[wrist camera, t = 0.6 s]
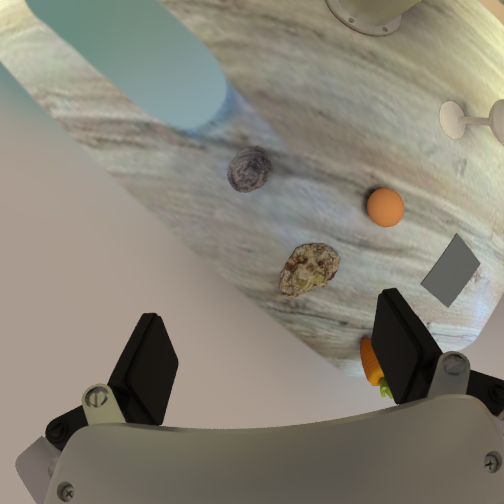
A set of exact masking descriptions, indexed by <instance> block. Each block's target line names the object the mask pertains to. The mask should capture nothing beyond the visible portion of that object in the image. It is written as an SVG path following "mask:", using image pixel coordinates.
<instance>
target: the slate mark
mask: <svg viewBox="0 0 504 504" xmlns="http://www.w3.org/2000/svg"><path fill="white" fill-rule="evenodd" d="M479 265H480V262H479V261H478V259H477V258H476V257H475V255H474V254H473V253H472V252H471V250H470V249H469V248H468V246H467V245H466V244H465V243H464V241H463V240H462V239H461V238H460V236H459V235H458V234H457V233H456V235H455V236H454V238H453V240H452V241H451V243H450V244H449V246H448V247H447V248H446V250H445V251H444V253H443V254H442V256H441V257H440V259H439V260H438V261H437V263H436V264H435V265H434V267H433V268H432V270H431V271H430V272H429V274H428V275H427V276H426V278H425V279H424V280H423V281H422V283H421V285H422V286H423V287H424V288H426V289H427V290H428V291H429V292H430V293H432V294H433V295H434V296H435V297H436V298H437V299H439V300H440V301H441V302H442V303H443V304H444V305H446V306H447V307H449V306H450V305H451V304H452V302H453V301H454V300H455V299H456V297H457V296H458V295H459V293H460V292H461V291H462V289H463V288H464V287H465V285H466V284H467V283H468V281H469V280H470V278H471V277H472V275H473V274H474V273H475V271H476V270H477V268H478V267H479Z"/></svg>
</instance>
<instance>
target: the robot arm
mask: <svg viewBox="0 0 504 504" xmlns="http://www.w3.org/2000/svg"><path fill="white" fill-rule="evenodd" d="M420 1H422V0H326V2H327V4H328V6H329V8H330V9H331V11H332V12H333V13H334V14H335V16H336V17H337V18H338V19H340V20H341V21H342V22H343V23H345V24H346V25H347V26H349V27H351V28H352V29H354V30H356V31H359V32H361V33H364V34H368V35H373V36H384V35H388V34H390V33H392V32H394V31H395V30H396V29H398V27H399V26H400V24H401V21H402V13H404V12H405V11H407V10H408V9H410V8H411V7H413V6H414V5H416V4H417V3H419V2H420ZM499 2H500V3H501V4H502V5H503V6H504V0H499ZM349 21H350V22H349ZM371 346H372V349H373V351H374V353H375V356H376V358H377V360H378V362H379V365H380V367H381V369H382V372H383V374H384V377H385V379H386V381H387V384H388V386H389V389H390V391H391V394H392V396H393V399H394V401H395V403H396V404H397V405H398V404H399V405H398V406H394V407H390V408H386V409H382V410H378V411H373V412H369V413H365V414H360V415H355V416H350V417H346V418H341V419H334V420H329V421H322V422H315V423H308V424H300V425H291V426H281V427H268V428H249V429H198V428H179V427H166V426H159V425H162V423H163V420H164V416H165V412H166V408H167V405H168V400H169V397H170V394H171V390H172V386H173V383H174V379H175V376H176V372H177V369H178V358H177V356H176V353H175V351H174V349H173V346H172V344H171V341H170V338H169V336H168V333H167V331H166V328H165V326H164V323H163V320H162V318H161V316H158V315H157V314H156V313H144V314H143V315H142V316H141V318H140V320H139V322H138V323H137V326H136V327H135V329H134V331H133V333H132V335H131V337H130V339H129V341H128V342H127V344H126V346H125V349H124V350H123V352H122V354H121V356H120V358H119V360H118V362H117V364H116V367H115V369H114V370H113V372H112V374H111V376H110V379H109V382H108V384H107V385H106V384H96V385H92V386H91V387H89V388H88V389H87V390H86V391H85V392H84V394H83V396H82V405H81V406H79V407H77V408H75V409H73V410H71V411H69V412H67V413H65V414H63V415H61V416H59V417H57V418H55V419H54V420H52V421H51V422H50V423H49V424H48V426H47V428H46V432H45V434H46V436H45V437H43V436H41V437H40V438H38V439H37V440H36V441H35V442H34V443H33V444H32V445H31V446H30V447H28V448H27V449H26V450H25V451H24V452H23V453H22V454H20V455H19V456H18V458H17V460H16V470H17V472H18V474H19V476H20V477H21V479H22V481H23V483H24V484H25V486H26V488H27V489H28V491H29V492H30V494H31V495H32V497H33V499H34V500H35V502H36V503H37V504H504V380H501V379H498V378H495V377H492V376H489V375H485V374H483V373H480V372H477V371H474V370H471V369H470V362H469V360H468V359H467V357H466V356H464V355H463V354H461V353H459V352H456V351H449V352H446V353H443V352H442V351H441V349H440V348H439V346H438V345H437V343H436V342H435V340H434V339H433V337H432V336H431V334H430V333H429V331H428V330H427V328H426V327H425V325H424V324H423V323H422V321H421V320H420V318H419V317H418V316H417V315H416V314H415V313H414V311H413V310H412V309H411V307H410V306H409V305H408V303H407V302H406V300H405V299H404V298H403V296H402V295H401V294H400V292H399V291H398V290H397V289H396V288H390V289H384V290H383V291H382V293H381V294H379V296H378V302H377V309H376V315H375V321H374V327H373V333H372V338H371Z"/></svg>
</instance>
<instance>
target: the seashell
mask: <svg viewBox="0 0 504 504" xmlns="http://www.w3.org/2000/svg"><path fill="white" fill-rule="evenodd" d="M270 162H271V161H269V160H268V158H267V155H266V153H265V151H264V150H263V149H261V148H259V147H258V146H256V147H249V148H246V149H244V150H242V151H240V152H239V153H237V156H236V157H235V158H234V160H233V161H232V162H231V163H230V165H229V168H228V174H227V175H228V180H229V182H230V184H231V186H232V187H233V188H234V189H235V190H236V191H239V192H244V193H245V192H251V191H253V190H255V189H257V188H260V187H262V186H263V185H264V184H265V182H266V180H267V178H268V176H269V175H270V174H271V173H272V165H271V163H270Z"/></svg>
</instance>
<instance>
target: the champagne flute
mask: <svg viewBox="0 0 504 504" xmlns="http://www.w3.org/2000/svg"><path fill="white" fill-rule="evenodd" d="M439 117H440V123H441V126H442V128H443V130H444V132H445V133H446V134H447V135H448V136H449V137H450V138H453V139H459V138H460V137H462V136H463V134H464V132H465V128H466V124H474V125H486V126H490V128H491V130H492V132H493V134H494V136H495V137H496V138H497V140H498V141H499V142H500V143H501V144H502V145H504V99H501V100H498V101H496V102H495V103H494V105H493V106H492V108H491V110H490V113H489V118H480V117H465V116H464V113H463V111H462V110H461V108H460V107H459V106H458V105H457V104H456V103H454V102H452V101H447V102H445V103H444V104H443V105H442V106H441V109H440V115H439Z"/></svg>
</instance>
